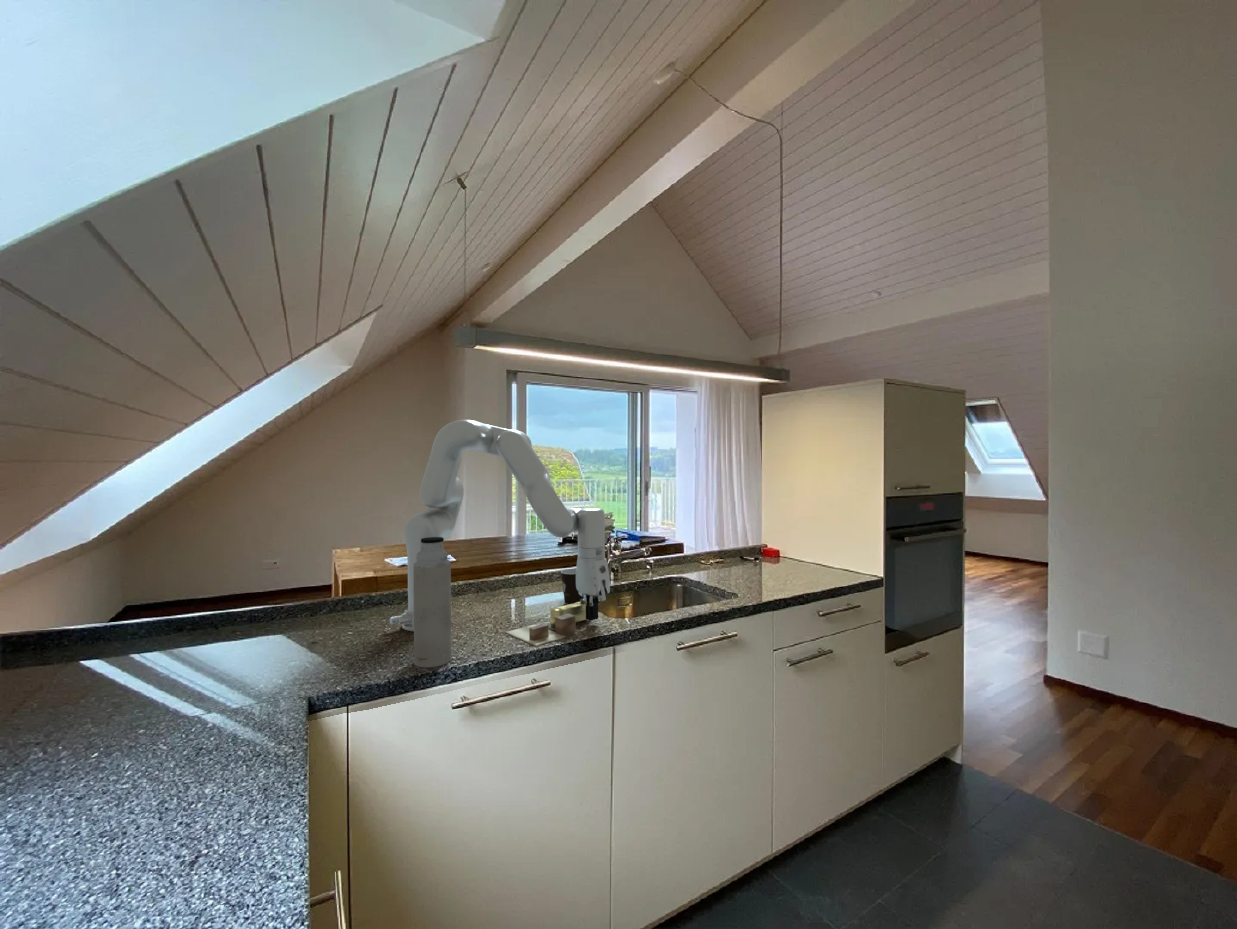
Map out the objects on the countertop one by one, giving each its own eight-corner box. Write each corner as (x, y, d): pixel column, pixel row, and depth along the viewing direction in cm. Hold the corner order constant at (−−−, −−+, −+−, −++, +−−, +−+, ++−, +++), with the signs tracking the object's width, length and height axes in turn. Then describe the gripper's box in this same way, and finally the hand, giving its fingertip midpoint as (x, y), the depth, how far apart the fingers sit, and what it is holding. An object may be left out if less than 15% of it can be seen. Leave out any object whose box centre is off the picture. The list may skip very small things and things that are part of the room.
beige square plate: (536, 646, 124) (536, 645, 124) (506, 633, 134) (506, 632, 134) (581, 632, 134) (581, 631, 134) (550, 621, 144) (550, 620, 144)
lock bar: (555, 628, 136) (554, 608, 136) (548, 625, 138) (547, 605, 138) (590, 618, 145) (590, 599, 145) (583, 616, 147) (583, 597, 147)
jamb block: (562, 636, 131) (562, 619, 131) (555, 633, 133) (555, 617, 133) (575, 632, 134) (575, 615, 134) (568, 630, 136) (568, 613, 136)
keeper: (533, 642, 127) (533, 629, 127) (529, 640, 128) (529, 627, 128) (548, 637, 130) (548, 625, 130) (544, 636, 132) (544, 623, 132)
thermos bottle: (406, 663, 114) (405, 538, 114) (435, 652, 121) (434, 534, 121) (430, 670, 110) (429, 541, 110) (458, 658, 117) (457, 536, 117)
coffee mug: (586, 605, 160) (586, 574, 160) (559, 606, 160) (559, 574, 160) (589, 596, 171) (589, 566, 172) (564, 596, 172) (563, 566, 172)
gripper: (619, 554, 137) (620, 622, 137) (585, 548, 149) (586, 611, 149) (598, 558, 132) (598, 628, 132) (564, 551, 144) (565, 616, 144)
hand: (592, 619), depth 140 cm, fingers closed
